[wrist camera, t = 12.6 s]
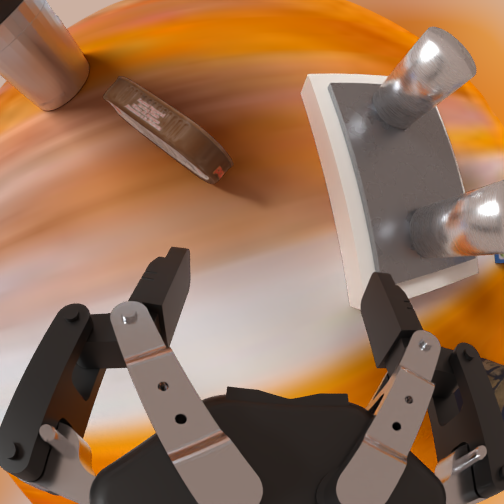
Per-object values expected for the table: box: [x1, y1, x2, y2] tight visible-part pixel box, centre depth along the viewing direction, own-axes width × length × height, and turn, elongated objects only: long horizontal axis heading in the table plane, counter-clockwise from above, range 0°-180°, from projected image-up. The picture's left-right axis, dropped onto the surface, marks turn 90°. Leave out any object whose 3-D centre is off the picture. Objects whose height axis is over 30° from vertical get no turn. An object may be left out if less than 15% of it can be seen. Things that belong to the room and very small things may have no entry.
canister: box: [454, 358, 504, 421], centre depth 20 cm, size 10×10×18 cm
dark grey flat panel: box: [328, 83, 476, 284], centre depth 25 cm, size 20×13×1 cm, turn 11°
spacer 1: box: [373, 27, 476, 129], centre depth 19 cm, size 5×5×11 cm
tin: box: [103, 76, 233, 184], centre depth 24 cm, size 15×3×8 cm, turn 51°
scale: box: [300, 74, 479, 310], centre depth 27 cm, size 24×17×4 cm
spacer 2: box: [409, 180, 504, 258], centre depth 18 cm, size 5×5×11 cm
